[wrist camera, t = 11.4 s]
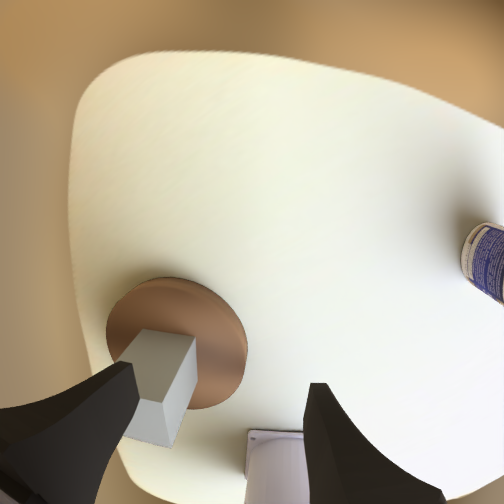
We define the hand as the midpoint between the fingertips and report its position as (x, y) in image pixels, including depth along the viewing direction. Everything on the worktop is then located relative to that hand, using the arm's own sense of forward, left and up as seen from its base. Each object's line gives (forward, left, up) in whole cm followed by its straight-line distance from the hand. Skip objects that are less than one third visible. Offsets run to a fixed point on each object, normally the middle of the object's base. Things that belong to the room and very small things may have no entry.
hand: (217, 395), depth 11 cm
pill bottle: (+4, -19, -11) cm, 22 cm away
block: (-5, +5, -9) cm, 11 cm away
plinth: (-5, +5, -11) cm, 13 cm away
